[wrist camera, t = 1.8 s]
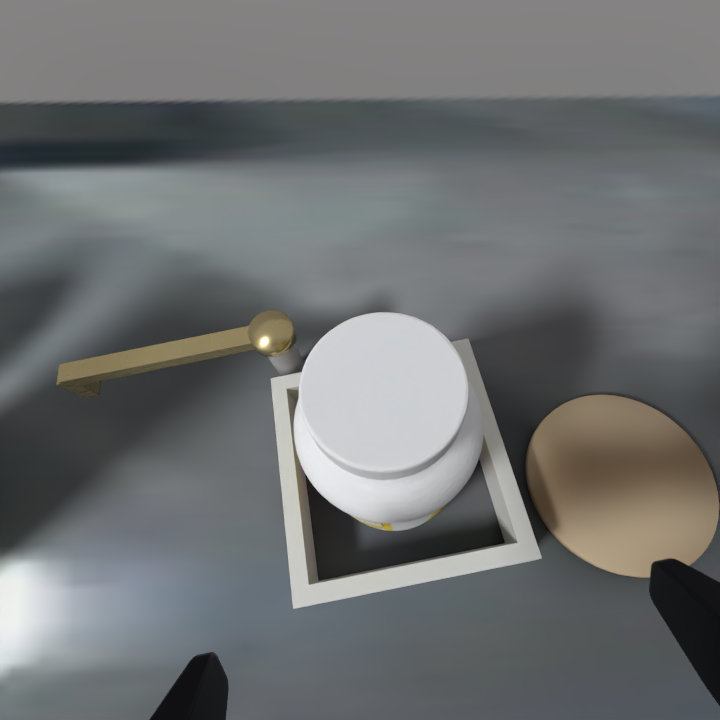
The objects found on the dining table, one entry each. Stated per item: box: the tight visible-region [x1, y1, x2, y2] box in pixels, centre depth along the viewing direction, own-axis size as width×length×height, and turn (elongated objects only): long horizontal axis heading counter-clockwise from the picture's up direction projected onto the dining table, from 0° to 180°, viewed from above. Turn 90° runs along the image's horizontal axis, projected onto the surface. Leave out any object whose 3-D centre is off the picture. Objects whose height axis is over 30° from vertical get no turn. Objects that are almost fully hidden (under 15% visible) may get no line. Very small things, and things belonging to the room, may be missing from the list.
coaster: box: [525, 395, 719, 577], centre depth 21 cm, size 9×9×1 cm
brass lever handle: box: [56, 310, 296, 398], centre depth 21 cm, size 2×12×2 cm, turn 101°
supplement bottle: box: [294, 312, 484, 531], centre depth 17 cm, size 7×7×13 cm
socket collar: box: [268, 339, 542, 609], centre depth 21 cm, size 13×11×5 cm
